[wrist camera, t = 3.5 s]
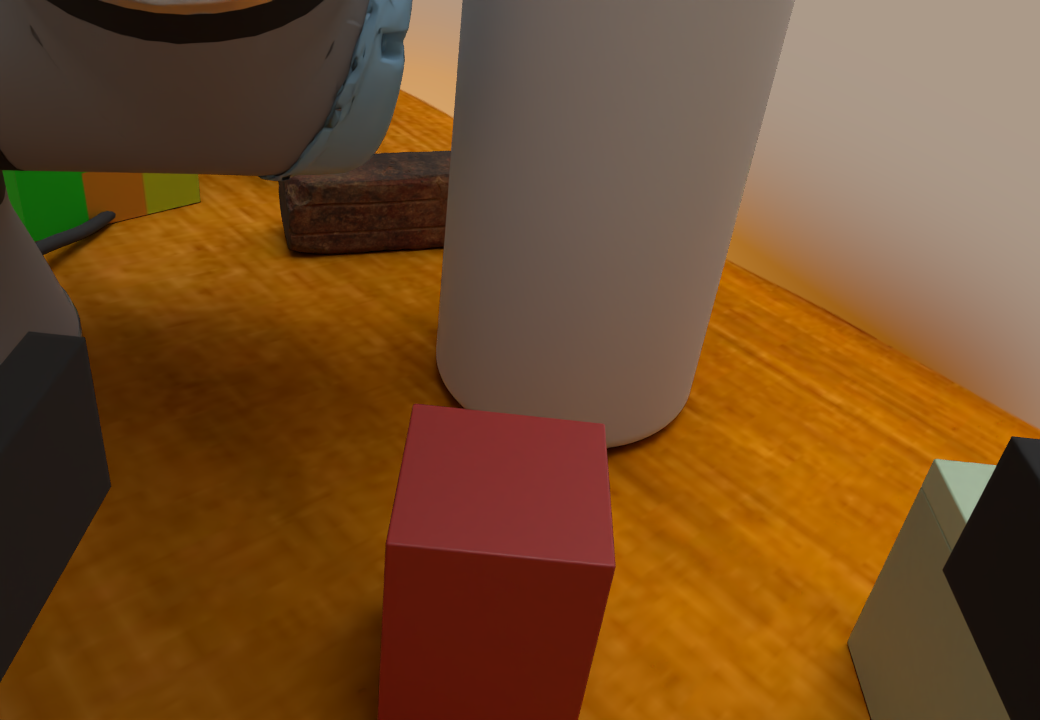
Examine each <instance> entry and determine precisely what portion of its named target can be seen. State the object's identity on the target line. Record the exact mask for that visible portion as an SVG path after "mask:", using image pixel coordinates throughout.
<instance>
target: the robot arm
mask: <svg viewBox="0 0 1040 720" xmlns="http://www.w3.org/2000/svg"><path fill="white" fill-rule="evenodd" d="M411 10H412V0H0V682H1V680H2V678H3V677H4V675H5V673H6V671H7V670H8V668H9V666H10V664H11V663H12V661H13V659H14V657H15V655H16V654H17V652H18V650H19V648H20V647H21V645H22V643H23V641H24V640H25V638H26V636H27V634H28V632H29V631H30V629H31V627H32V625H33V624H34V622H35V620H36V618H37V617H38V615H39V613H40V611H41V609H42V608H43V606H44V604H45V602H46V601H47V599H48V597H49V595H50V594H51V592H52V590H53V588H54V586H55V585H56V583H57V581H58V579H59V578H60V576H61V574H62V572H63V571H64V569H65V567H66V565H67V563H68V562H69V560H70V558H71V556H72V555H73V553H74V551H75V549H76V548H77V546H78V544H79V542H80V540H81V539H82V537H83V535H84V533H85V532H86V530H87V528H88V526H89V525H90V523H91V521H92V519H93V517H94V516H95V514H96V512H97V510H98V509H99V507H100V505H101V503H102V502H103V500H104V498H105V496H106V494H107V493H108V491H109V489H110V487H111V483H110V477H109V472H108V466H107V460H106V454H105V449H104V443H103V437H102V432H101V426H100V420H99V414H98V409H97V403H96V397H95V392H94V386H93V380H92V374H91V369H90V363H89V357H88V352H87V346H86V340H85V337H83V334H82V328H81V323H80V318H79V315H78V312H77V309H76V308H75V306H74V304H73V302H72V301H71V299H70V298H69V296H68V294H67V293H66V291H65V290H64V289H63V288H62V287H61V286H60V284H59V282H58V281H57V279H56V277H55V275H54V274H53V272H52V270H51V268H50V267H49V265H48V263H47V262H46V260H45V258H44V257H43V255H44V254H47V253H49V252H51V251H53V250H56V249H58V248H61V247H63V246H66V245H69V244H71V243H74V242H77V241H79V240H81V239H84V238H86V237H88V236H90V235H91V234H93V233H95V232H96V231H98V230H99V229H101V228H102V227H104V226H105V225H107V224H108V223H109V222H111V221H112V220H113V219H114V218H115V216H116V214H115V213H114V212H113V211H105V212H101V213H99V214H98V215H97V216H95V217H93V218H92V219H90V220H89V221H87V222H85V223H83V224H81V225H79V226H77V227H74V228H72V229H69V230H66V231H63V232H60V233H57V234H55V235H52V236H49V237H47V238H45V239H42V240H40V241H38V242H34V240H33V238H32V237H31V235H30V234H29V232H28V231H27V229H26V227H25V226H24V224H23V223H22V221H21V220H20V218H19V216H18V215H17V213H16V212H15V210H14V209H13V207H12V205H11V203H10V200H9V197H8V193H7V189H6V185H5V180H4V176H3V171H2V170H10V171H68V172H119V173H170V174H218V175H247V176H258V177H260V178H261V179H265V180H272V181H283V180H288V179H290V178H291V177H293V176H294V177H295V176H296V175H325V174H341V173H346V172H349V171H352V170H355V169H356V168H358V167H360V166H362V165H363V164H364V163H366V162H367V161H368V160H369V159H370V158H371V157H372V156H373V155H374V153H375V152H376V151H377V149H378V148H379V146H380V144H381V142H382V140H383V139H384V137H385V135H386V132H387V130H388V127H389V125H390V122H391V119H392V116H393V113H394V109H395V105H396V102H397V98H398V95H399V90H400V85H401V81H402V75H403V69H404V62H405V59H404V58H405V57H404V45H403V40H404V38H405V36H406V33H407V31H408V28H409V22H410V16H411ZM942 571H943V573H944V575H945V577H946V579H947V582H948V584H949V586H950V588H951V590H952V593H953V595H954V597H955V599H956V601H957V604H958V606H959V608H960V610H961V612H962V615H963V617H964V619H965V621H966V623H967V626H968V628H969V630H970V632H971V634H972V637H973V639H974V641H975V643H976V645H977V648H978V650H979V652H980V654H981V656H982V659H983V661H984V663H985V665H986V667H987V670H988V672H989V674H990V676H991V678H992V681H993V683H994V685H995V687H996V689H997V692H998V694H999V696H1000V698H1001V700H1002V703H1003V705H1004V707H1005V709H1006V711H1007V714H1008V716H1009V718H1010V720H1040V439H1031V438H1022V437H1011V439H1010V441H1009V443H1008V445H1007V447H1006V448H1005V450H1004V452H1003V454H1002V456H1001V458H1000V460H999V462H998V464H997V466H996V468H995V470H994V472H993V473H992V475H991V477H990V479H989V481H988V483H987V485H986V487H985V489H984V491H983V493H982V495H981V496H980V498H979V500H978V502H977V504H976V506H975V508H974V510H973V512H972V514H971V516H970V518H969V519H968V521H967V523H966V525H965V527H964V529H963V531H962V533H961V535H960V537H959V539H958V541H957V543H956V544H955V546H954V548H953V550H952V552H951V554H950V556H949V558H948V560H947V562H946V564H945V566H944V567H943V569H942Z"/></svg>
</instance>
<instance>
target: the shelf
mask: <svg viewBox="0 0 1040 720" xmlns="http://www.w3.org/2000/svg"><path fill="white" fill-rule="evenodd" d="M996 466H997V465H987V464H978V463H969V462H959V461H950V460H941V459H935V460H934V461H933V463H932V465H931V467H930V469H929V472H928V474H927V476H926V478H925V480H924V482H923V484H922V487H921V488H920V491H919V493H918V495H917V497H916V499H915V501H914V503H913V505H912V507H911V509H910V511H909V514H908V516H907V518H906V520H905V522H904V524H903V526H902V528H901V530H900V532H899V535H898V537H897V539H896V541H895V543H894V545H893V547H892V549H891V551H890V553H889V556H888V558H887V560H886V562H885V564H884V566H883V568H882V570H881V572H880V574H879V576H878V579H877V581H876V583H875V585H874V587H873V589H872V591H871V593H870V595H869V597H868V600H867V602H866V604H865V606H864V608H863V610H862V612H861V614H860V616H859V618H858V621H857V623H856V625H855V627H854V629H853V631H852V633H851V635H850V637H849V639H848V642H847V643H848V646H849V649H850V653H851V656H852V659H853V662H854V665H855V669H856V672H857V675H858V678H859V681H860V684H861V688H862V691H863V694H864V697H865V700H866V704H867V707H868V710H869V713H870V716H871V719H872V720H1010V718H1009V716H1008V714H1007V711H1006V709H1005V707H1004V705H1003V703H1002V700H1001V698H1000V696H999V694H998V692H997V689H996V687H995V685H994V683H993V681H992V678H991V676H990V674H989V672H988V670H987V667H986V665H985V663H984V661H983V659H982V656H981V654H980V652H979V650H978V648H977V645H976V643H975V641H974V639H973V637H972V634H971V632H970V630H969V628H968V626H967V623H966V621H965V619H964V617H963V615H962V612H961V610H960V608H959V606H958V604H957V601H956V599H955V597H954V595H953V593H952V590H951V588H950V586H949V584H948V582H947V579H946V577H945V575H944V573H943V571H942V569H943V567H944V566H945V564H946V562H947V560H948V558H949V556H950V554H951V552H952V550H953V548H954V546H955V544H956V543H957V541H958V539H959V537H960V535H961V533H962V531H963V529H964V527H965V525H966V523H967V521H968V519H969V518H970V516H971V514H972V512H973V510H974V508H975V506H976V504H977V502H978V500H979V498H980V496H981V495H982V493H983V491H984V489H985V487H986V485H987V483H988V481H989V479H990V477H991V475H992V473H993V472H994V470H995V468H996Z"/></svg>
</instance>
